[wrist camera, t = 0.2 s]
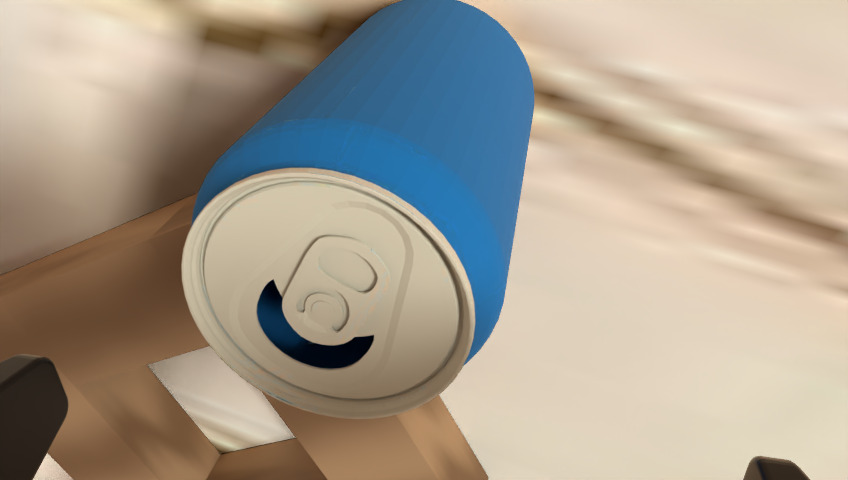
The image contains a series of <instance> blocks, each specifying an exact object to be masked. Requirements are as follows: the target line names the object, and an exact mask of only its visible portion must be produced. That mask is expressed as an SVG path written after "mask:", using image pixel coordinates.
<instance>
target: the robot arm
mask: <svg viewBox="0 0 848 480" xmlns="http://www.w3.org/2000/svg"><path fill="white" fill-rule="evenodd" d="M68 407H69V403H68V397H67V395H66V392H65V390H64V387H63V385H62V382H61V380H60V377H59V375H58V372H57V370H56V367H55V365H54V363H53V362H52V361H51V360H50V359H49V358H47V357H43V356H36V355H29V354H18V355H15V356H12V357H10V358H8V359H6V360H4V361H2V362H0V480H33V478H34V476H35V474H36V472H37V470H38V469H39V467H40V465H41V463H42V461H43V459H44V457H45V456H46V454H47V452H48V450H49V448H50V446H51V444H52V443H53V441H54V439H55V437H56V435H57V433H58V431H59V430H60V428H61V426H62V424H63V422H64V420H65V418H66V416H67V412H68ZM743 480H810V479H809V478H808V477H807V476H806V474H805V473H804V472H803V471H802V470H801V469H800V468H799V467H798V466H797V465H796V464H795V463H793V462H791V461H789V460H784V459H777V458H770V457H763V456H757V457H754V458H753V459H752V460H751V461H750V463H749V465H748V468H747V470H746V473H745V476H744V479H743Z"/></svg>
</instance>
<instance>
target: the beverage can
mask: <svg viewBox="0 0 848 480" xmlns="http://www.w3.org/2000/svg"><path fill="white" fill-rule="evenodd" d="M533 110H534V88H533V81H532V77H531V73H530V70H529V66H528V64H527V62H526V59H525V57H524V55H523V53H522V51H521V49H520V48H519V46H518V44H517V43H516V41H515V40H514V39H513V38H512V36H511V35H510V34H509V33H508V31H507V30H506V29H505V28H503V27H502V26H501V25H500V24H499V23H498V22H497V21H496V20H495V19H493V18H492V17H490V16H489V15H488V14H486V13H485V12H483V11H481V10H479V9H477V8H475V7H474V6H471V5H469V4H466V3H463V2H461V1H457V0H402V1H400V2H397V3H394V4H391V5H389V6H387V7H385V8H383V9H381V10H380V11H378V12H377V13H375V14H374V15H373V16H371V17H370V18H369V19H368V20H366V21H365V22H364V23H363V24H362V25H361V26H360V27H359V28H358V29H357V30H356V31H355V32H354V33H352V34H351V35H350V36H349V37H348V38H347V39H346V40H345V41H344V42H343V43H342V44H341V45H340V46H338V47H337V48H336V49H335V50H334V51H333V52H332V53H331V54H330V55H329V56H328V57H327V58H326V59H325V60H323V61H322V62H321V63H320V64H319V65H318V66H317V67H316V68H315V69H314V70H313V71H312V72H311V73H309V74H308V75H307V76H306V77H305V78H304V79H303V80H302V81H301V82H300V83H299V84H298V85H297V86H295V87H294V88H293V89H292V90H291V91H290V92H289V93H288V94H287V95H286V96H285V97H284V98H283V99H282V100H280V101H279V102H278V103H277V104H276V105H275V106H274V107H273V108H272V109H271V110H270V111H269V112H268V113H266V114H265V115H264V116H263V117H262V118H261V119H260V120H259V121H258V122H257V123H256V124H255V125H254V126H252V127H251V128H250V129H249V130H248V131H247V132H246V133H245V134H244V135H243V136H242V137H241V138H240V139H239V140H237V141H236V142H235V143H234V144H233V145H232V146H231V147H230V148H229V149H228V150H227V151H226V152H225V153H224V154H223V155H222V156H221V157H220V158H219V159H218V160H217V161H216V163H215V164H214V165H213V167H212V168H211V169H210V171H209V172H208V174H207V176H206V178H205V180H204V182H203V184H202V186H201V188H200V190H199V192H198V195H197V199H196V202H195V205H194V209H193V216H192V224H191V229H190V231H189V233H188V235H187V239H186V242H185V245H184V248H183V255H182V263H181V269H182V283H183V289H184V294H185V298H186V301H187V304H188V307H189V310H190V312H191V314H192V317H193V319H194V321H195V323H196V325H197V327H198V328H199V330H200V332H201V333H202V335H203V336H204V338H205V340H206V341H207V342H208V343H209V345H210V346H211V347H212V349H213V350H214V351H215V352H216V354H217V355H218V356H219V357H220V358H221V359H222V360H223V361H224V362H225V363H226V364H227V365H228V366H229V367H230V368H231V369H232V370H234V371H235V372H236V373H237V374H238V375H239V376H241V377H242V378H243V379H245V380H246V381H247V382H249V383H250V384H252V385H253V386H254V387H256V388H257V389H259V390H261V391H263V392H264V393H266V394H268V395H269V396H271V397H273V398H275V399H277V400H279V401H282V402H284V403H286V404H288V405H291V406H293V407H296V408H299V409H302V410H305V411H308V412H312V413H315V414H319V415H324V416H330V417H335V418H346V419H374V418H382V417H388V416H393V415H397V414H401V413H404V412H407V411H410V410H412V409H415V408H417V407H419V406H421V405H423V404H425V403H427V402H429V401H430V400H432V399H433V398H435V397H436V396H437V395H439V394H440V393H441V392H443V391H444V390H445V389H446V388H447V387H448V386H449V385H450V384H451V383H452V382H453V380H454V379H455V378H456V376H457V375H458V373H459V372H460V371H461V369H462V367H463V366H464V365H465V364H466V363H467V362H468V361H469V360H470V359H471V358H472V357H473V356H474V355H475V354H476V353H477V352H478V351H479V350H480V349H481V347H482V346H483V345H484V343H485V342H486V340H487V339H488V338H489V336H490V335H491V333H492V331H493V329H494V327H495V325H496V323H497V321H498V319H499V315H500V312H501V309H502V306H503V302H504V296H505V289H506V283H507V276H508V270H509V264H510V257H511V251H512V245H513V238H514V232H515V226H516V219H517V213H518V206H519V200H520V194H521V187H522V181H523V175H524V168H525V162H526V156H527V149H528V143H529V137H530V130H531V124H532V117H533Z"/></svg>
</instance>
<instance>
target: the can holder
mask: <svg viewBox="0 0 848 480" xmlns="http://www.w3.org/2000/svg"><path fill="white" fill-rule="evenodd" d="M197 195H198V193H197V194H194V195H192V196H189V197H187V198H185V199H182V200H180V201H177V202H175V203H173V204H170V205H168V206H166V207H163V208H161V209H158V210H156V211H154V212H151V213H149V214H146V215H144V216H142V217H139V218H137V219H135V220H132V221H130V222H127V223H125V224H123V225H120V226H118V227H115V228H113V229H111V230H108V231H106V232H104V233H101V234H99V235H96V236H94V237H92V238H89V239H87V240H85V241H82V242H80V243H77V244H75V245H73V246H70V247H68V248H65V249H63V250H61V251H58V252H56V253H54V254H51V255H49V256H46V257H44V258H42V259H39V260H37V261H34V262H32V263H30V264H27V265H25V266H23V267H20V268H18V269H15V270H13V271H11V272H8V273H6V274H3V275H1V276H0V362H2V361H4V360H6V359H8V358H10V357H12V356H15V355H18V354H29V355H36V356H43V357H47V358H49V359H50V360H51V361H52V362H53V363H54V365H55V367H56V370H57V372H58V375H59V377H60V380H61V382H62V385H63V387H64V390H65V392H66V395H67V397H68V403H69V407H68V412H67V416H66V418H65V420H64V422H63V424H62V426H61V428H60V430H59V431H58V433H57V435H56V437H55V439H54V441H53V443H52V444H51V446H50V448H49V450H48V452H47V453H48V454H49V455H50V456H51V457H52V458H53V459H54V460H55V461H56V462H57V463H58V464H59V465H60V466H61V467H62V468H63V469H64V470H65V471H66V472H67V473H68V474H69V475H70V476H71V477H72V478H73V479H74V480H488V476H487V474H486V472H485V471H484V469H483V468H482V466H481V464H480V463H479V461H478V459H477V458H476V456H475V454H474V453H473V451H472V449H471V448H470V446H469V444H468V443H467V441H466V439H465V438H464V436H463V434H462V433H461V431H460V429H459V428H458V426H457V424H456V423H455V421H454V419H453V418H452V416H451V414H450V413H449V411H448V409H447V408H446V406H445V404H444V403H443V401H442V399H441V398H440V396H439V395H437V396H436V397H435V398H433V399H432V400H430V401H429V402H427V403H425V404H423V405H421V406H419V407H417V408H415V409H412V410H410V411H407V412H404V413H401V414H397V415H393V416H388V417H382V418H374V419H346V418H335V417H330V416H324V415H319V414H315V413H312V412H308V411H305V410H302V409H299V408H296V407H293V406H291V405H288V404H286V403H284V402H282V401H279V400H277V399H275V398H273V397H271V396H269V395H268V394H266V393H264V392H263V391H262V393H263V394H264V395H265V397H266V398H267V399H268V401H269V402H270V403H271V405H272V406H273V407H274V409H275V410H276V411H277V413H278V414H279V415H280V417H281V418H282V419H283V421H284V422H285V423H286V425H287V426H288V427H289V429H290V430H291V431H292V433H293V434H294V435H295V437H296V438H295V439H290V440H286V441H281V442H276V443H272V444H267V445H262V446H258V447H253V448H249V449H244V450H239V451H235V452H230V453H225V454H220V453H219V452H218V451H217V450H216V448H215V447H214V446H213V445H212V444H211V442H210V441H209V440H208V439H207V438H206V436H205V435H204V434H203V433H202V431H201V430H200V429H199V428H198V427H197V425H196V424H195V423H194V422H193V421H192V419H191V418H190V417H189V416H188V415H187V413H186V412H185V411H184V410H183V409H182V407H181V406H180V405H179V404H178V402H177V401H176V400H175V399H174V398H173V396H172V395H171V394H170V393H169V392H168V390H167V389H166V388H165V387H164V386H163V384H162V383H161V382H160V381H159V380H158V378H157V377H156V376H155V375H154V373H153V372H152V371H151V370H150V369H149V367H148V366H147V364H150V363H154V362H157V361H160V360H164V359H167V358H170V357H174V356H177V355H181V354H184V353H187V352H191V351H194V350H197V349H201V348H204V347H207V346H210V345H209V343H208V342H207V341H206V340H205V338H204V336H203V335H202V333H201V332H200V330H199V328H198V327H197V325H196V323H195V321H194V319H193V317H192V314H191V312H190V310H189V307H188V304H187V301H186V298H185V294H184V289H183V283H182V269H181V263H182V255H183V248H184V245H185V242H186V239H187V235H188V233H189V231H190V229H191V224H192V216H193V209H194V205H195V202H196V199H197Z"/></svg>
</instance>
